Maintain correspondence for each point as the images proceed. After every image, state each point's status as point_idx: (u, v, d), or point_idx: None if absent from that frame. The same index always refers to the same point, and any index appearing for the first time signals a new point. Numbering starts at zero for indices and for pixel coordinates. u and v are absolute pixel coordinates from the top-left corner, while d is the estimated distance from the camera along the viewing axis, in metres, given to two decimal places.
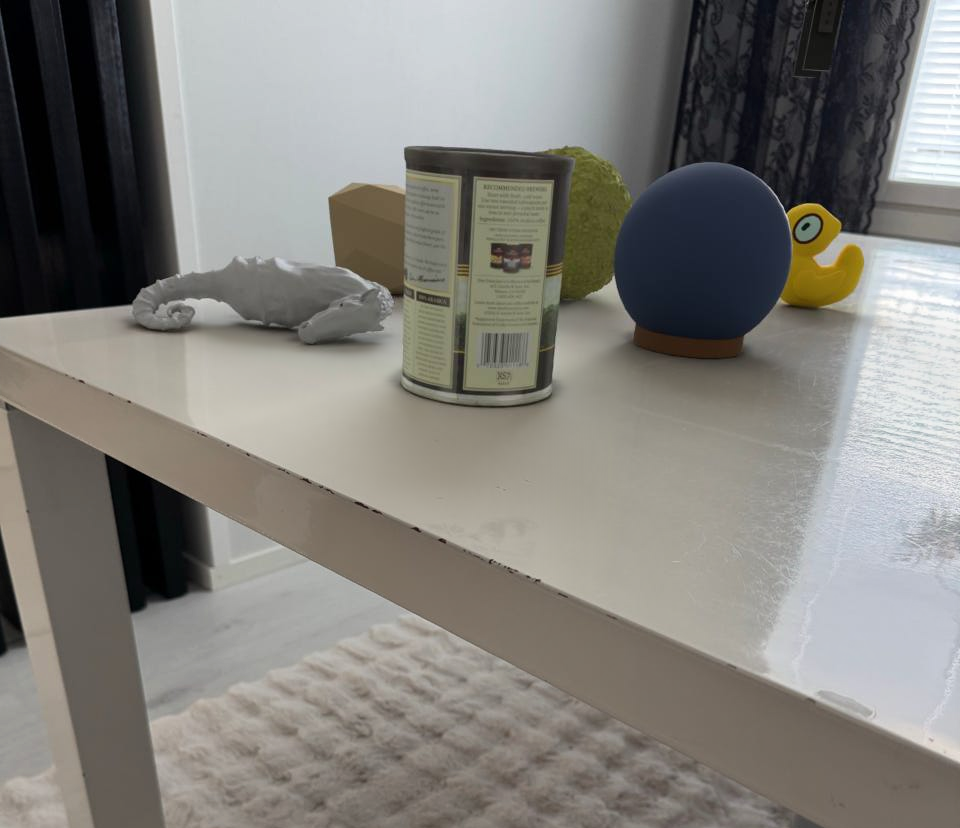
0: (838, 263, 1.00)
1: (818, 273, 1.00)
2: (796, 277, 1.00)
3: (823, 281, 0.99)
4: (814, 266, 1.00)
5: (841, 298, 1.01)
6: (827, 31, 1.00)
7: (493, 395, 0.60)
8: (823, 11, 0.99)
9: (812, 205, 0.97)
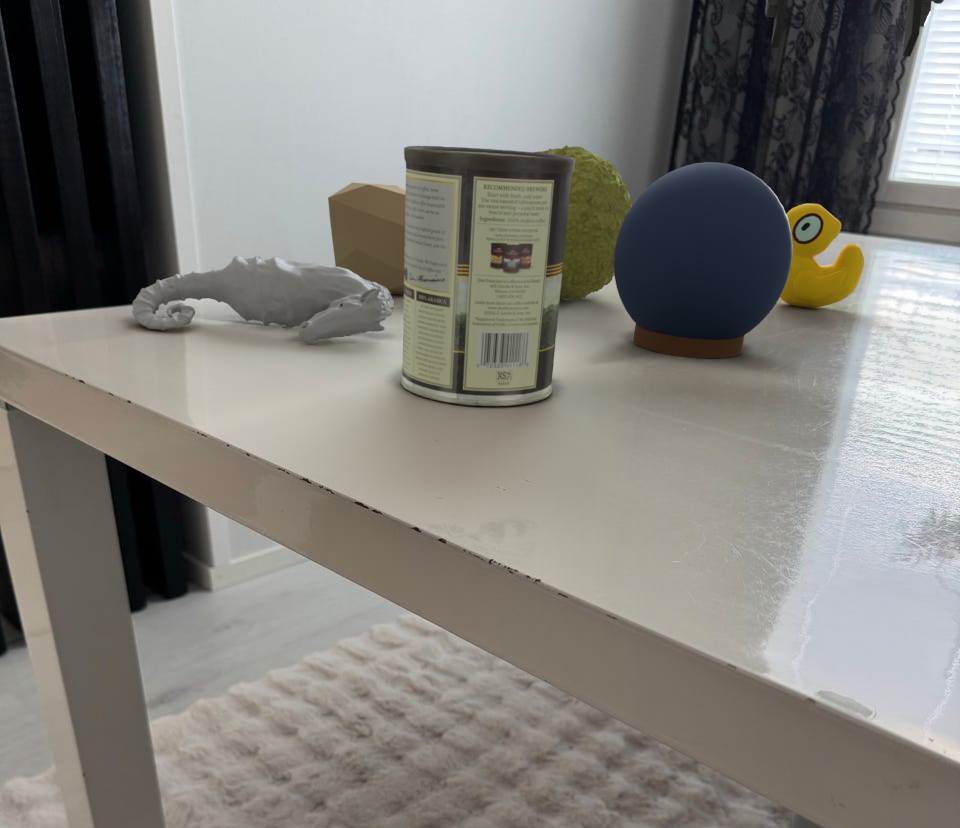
0: (838, 263, 1.00)
1: (818, 273, 1.00)
2: (796, 277, 1.00)
3: (823, 281, 0.99)
4: (814, 266, 1.00)
5: (841, 298, 1.01)
6: (768, 8, 1.02)
7: (493, 395, 0.60)
8: (766, 2, 1.03)
9: (812, 205, 0.97)
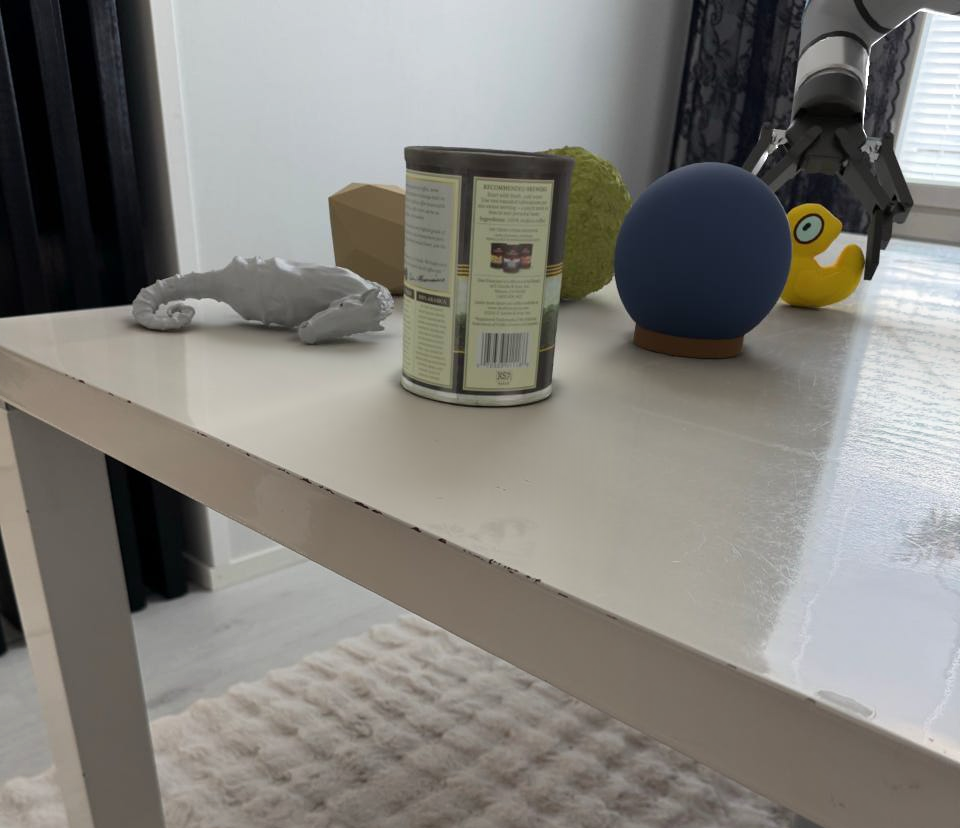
0: (839, 263, 1.00)
1: (819, 273, 1.00)
2: (797, 277, 0.99)
3: (824, 281, 0.99)
4: (815, 267, 0.99)
5: (842, 298, 1.01)
6: None
7: (493, 395, 0.60)
8: None
9: (813, 205, 0.97)
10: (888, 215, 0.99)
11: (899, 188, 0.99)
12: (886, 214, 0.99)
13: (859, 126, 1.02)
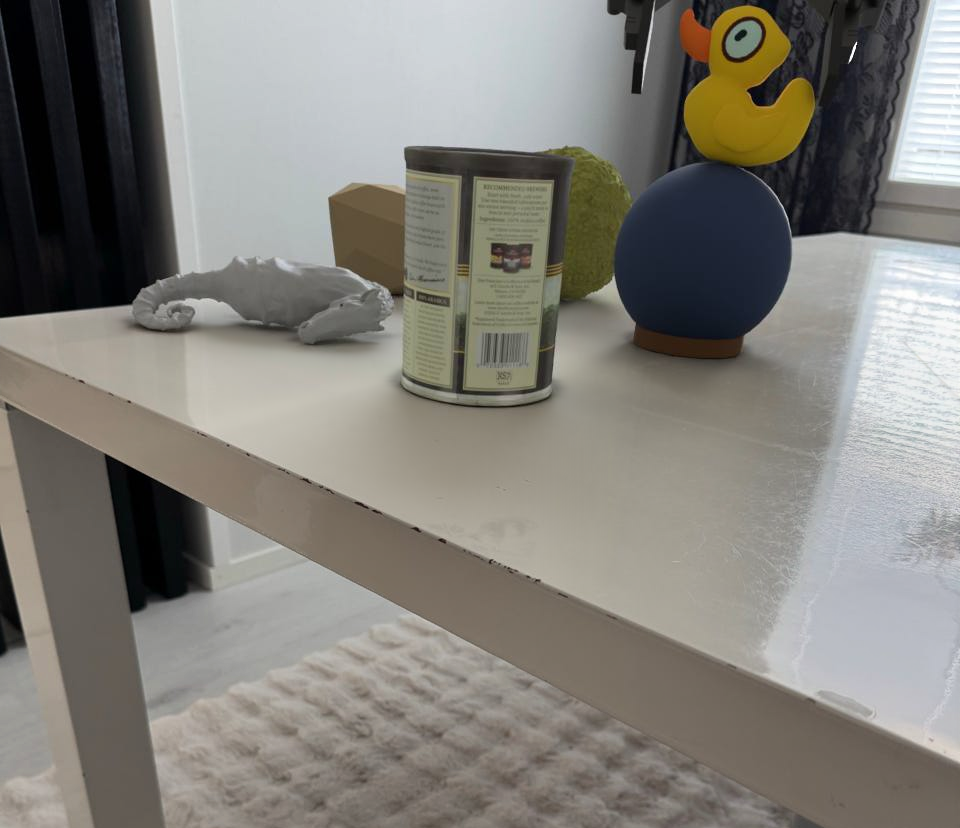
0: (779, 103, 0.70)
1: (750, 112, 0.70)
2: (719, 112, 0.70)
3: (755, 123, 0.70)
4: (746, 101, 0.70)
5: (777, 156, 0.72)
6: (626, 37, 0.71)
7: (493, 395, 0.60)
8: None
9: (754, 7, 0.68)
10: (853, 13, 0.69)
11: None
12: (850, 12, 0.69)
13: None
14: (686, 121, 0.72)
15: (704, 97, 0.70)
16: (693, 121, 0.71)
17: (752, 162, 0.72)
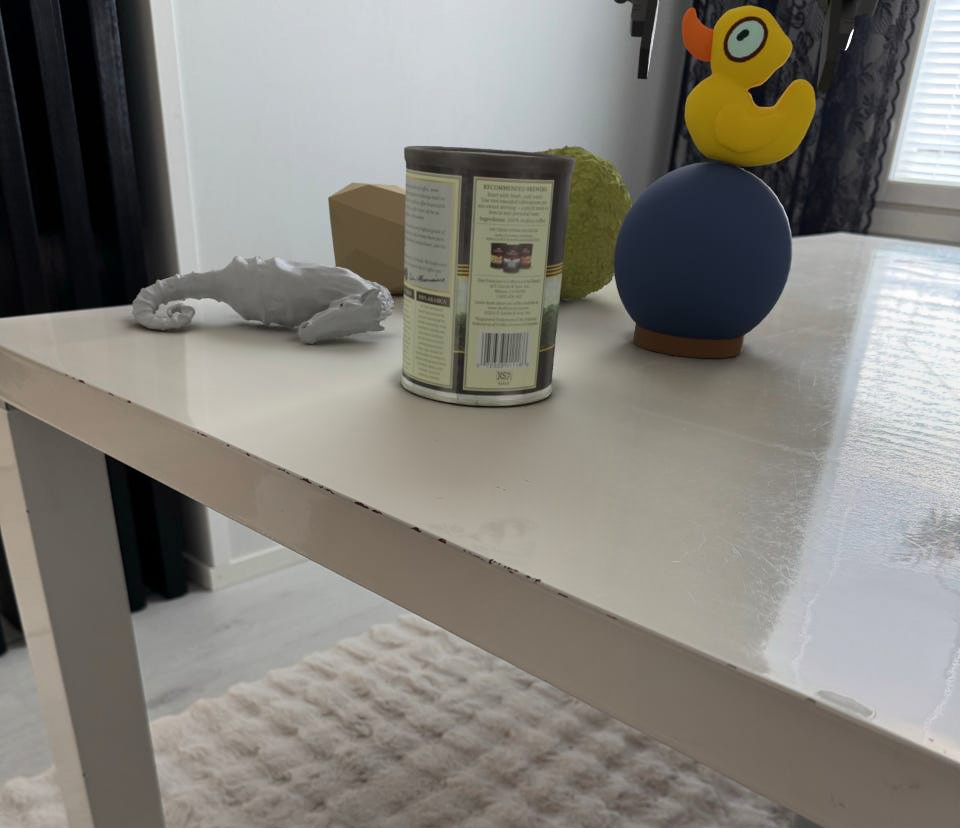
0: (780, 104, 0.70)
1: (751, 112, 0.70)
2: (720, 111, 0.70)
3: (756, 123, 0.70)
4: (747, 101, 0.70)
5: (777, 157, 0.72)
6: (632, 24, 0.74)
7: (493, 395, 0.60)
8: None
9: (757, 7, 0.68)
10: (850, 1, 0.72)
11: None
12: (847, 0, 0.72)
13: None
14: (687, 120, 0.72)
15: (705, 96, 0.70)
16: (694, 120, 0.71)
17: (752, 162, 0.72)
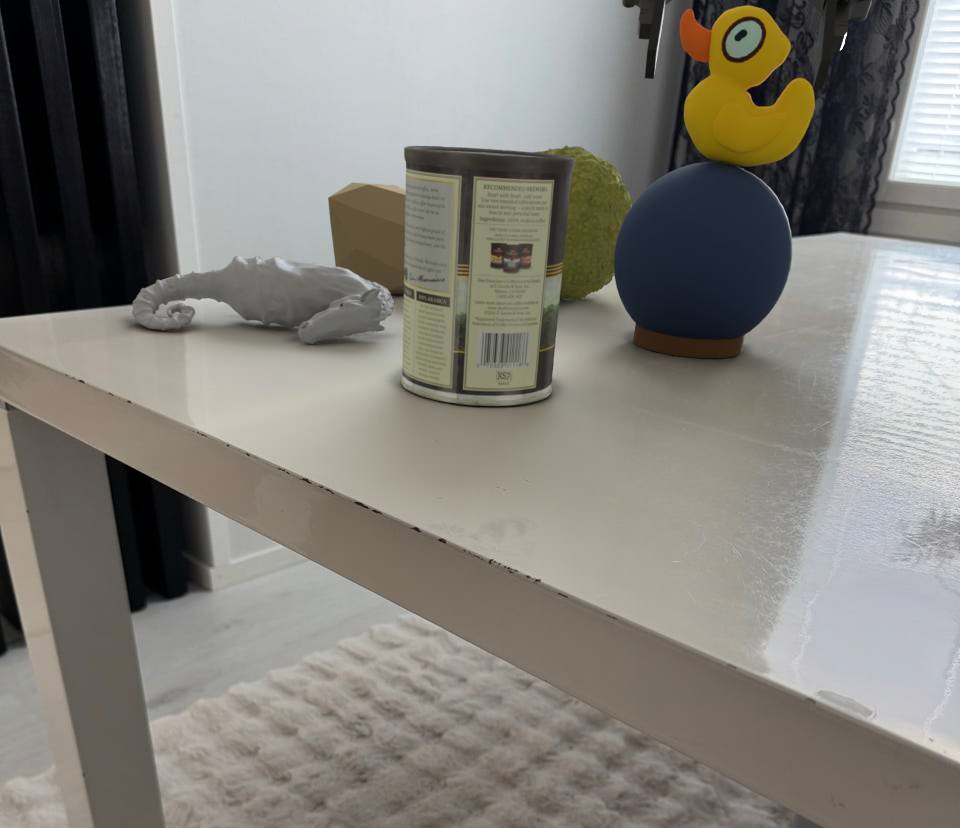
0: (779, 103, 0.70)
1: (750, 112, 0.70)
2: (719, 112, 0.70)
3: (755, 123, 0.70)
4: (746, 101, 0.70)
5: (777, 156, 0.72)
6: (640, 27, 0.79)
7: (493, 395, 0.59)
8: None
9: (754, 7, 0.68)
10: (844, 5, 0.77)
11: None
12: (841, 4, 0.77)
13: None
14: (686, 121, 0.72)
15: (704, 97, 0.70)
16: (693, 121, 0.71)
17: (752, 162, 0.72)
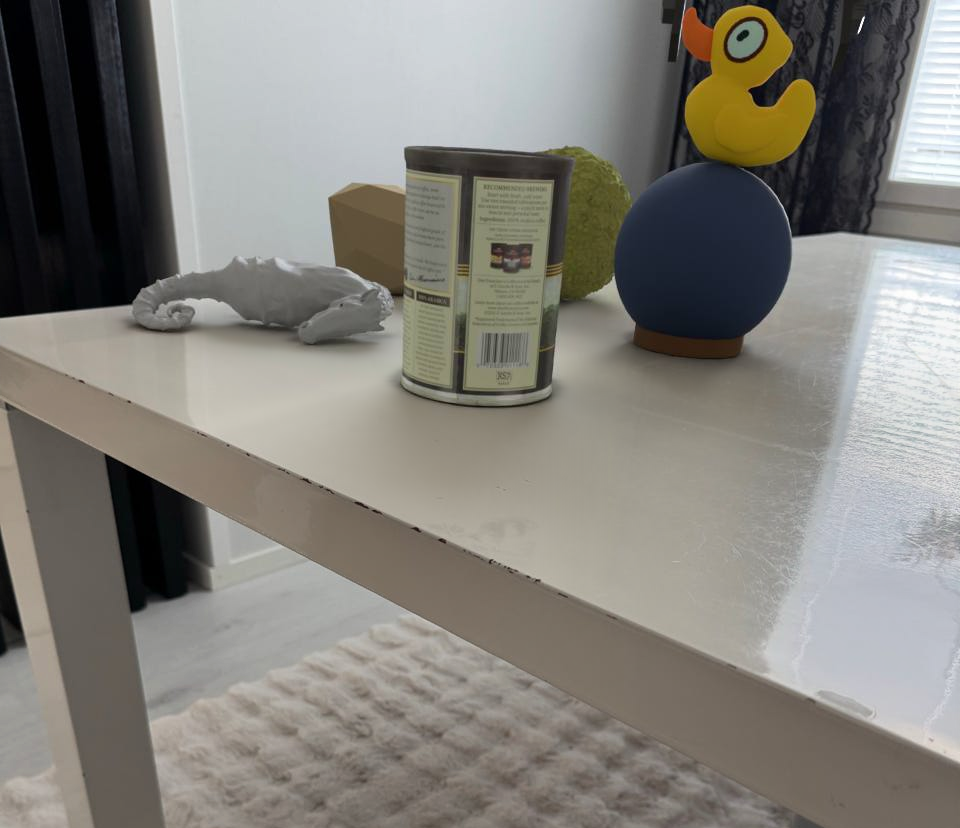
0: (780, 104, 0.70)
1: (751, 112, 0.70)
2: (720, 112, 0.70)
3: (755, 124, 0.70)
4: (747, 102, 0.70)
5: (776, 157, 0.72)
6: (663, 12, 0.81)
7: (493, 395, 0.60)
8: None
9: (757, 7, 0.68)
10: None
11: None
12: None
13: None
14: (687, 120, 0.72)
15: (705, 96, 0.70)
16: (694, 121, 0.71)
17: (752, 163, 0.72)
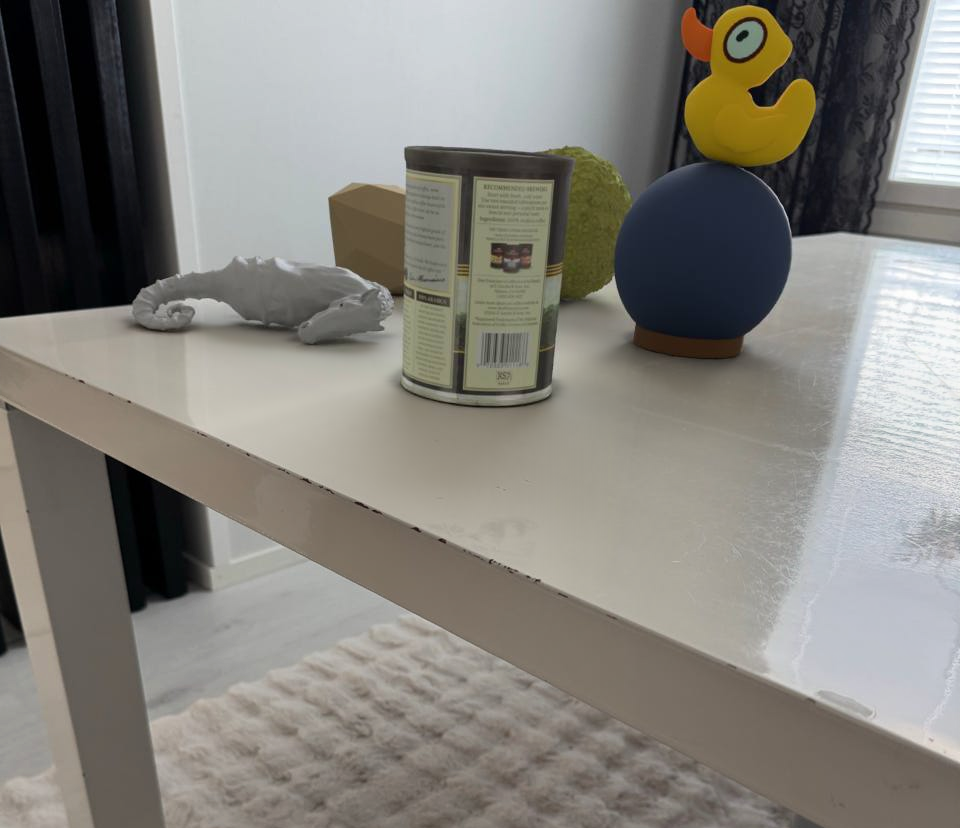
0: (780, 104, 0.70)
1: (751, 112, 0.70)
2: (719, 112, 0.70)
3: (755, 124, 0.70)
4: (747, 102, 0.70)
5: (776, 157, 0.72)
6: None
7: (493, 395, 0.59)
8: None
9: (756, 7, 0.68)
10: None
11: None
12: None
13: None
14: (687, 121, 0.72)
15: (705, 97, 0.70)
16: (693, 121, 0.71)
17: (752, 163, 0.72)
